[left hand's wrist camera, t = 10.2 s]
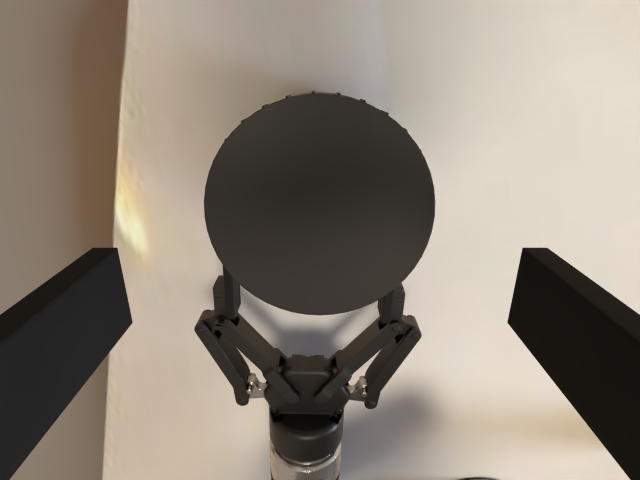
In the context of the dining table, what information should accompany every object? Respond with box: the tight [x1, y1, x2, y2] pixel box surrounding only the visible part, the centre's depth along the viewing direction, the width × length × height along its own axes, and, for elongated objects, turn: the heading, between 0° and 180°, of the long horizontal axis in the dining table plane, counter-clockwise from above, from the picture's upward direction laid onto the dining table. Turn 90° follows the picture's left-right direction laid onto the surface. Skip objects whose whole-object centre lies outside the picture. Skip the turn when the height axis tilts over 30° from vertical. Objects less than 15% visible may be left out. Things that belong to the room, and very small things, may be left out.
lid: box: [204, 91, 435, 315], centre depth 21 cm, size 11×11×2 cm
